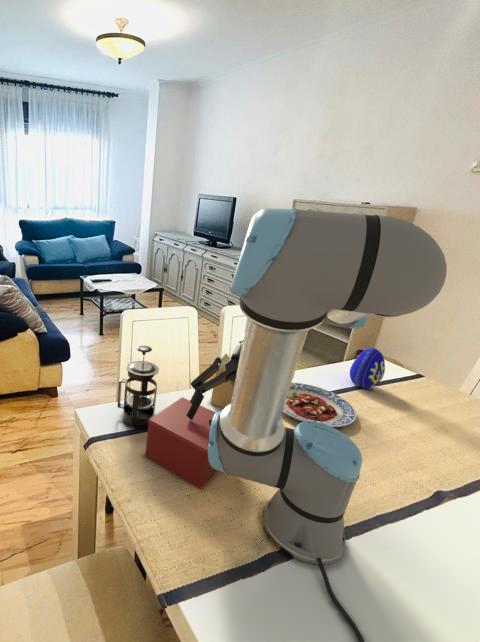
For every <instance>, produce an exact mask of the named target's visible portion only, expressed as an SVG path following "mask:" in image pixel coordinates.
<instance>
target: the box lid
mask: <svg viewBox="0 0 480 642" xmlns="http://www.w3.org/2000/svg"><path fill="white" fill-rule="evenodd" d="M190 400H191V399H188V398H186V397H180V398H179V399H177V400H176V401H174V402H173V403H171V404H170V405H168V406H166V407H165V408H164V409H162V410H160V411H159V412H157V413H155V414H154V416H153V417H152V418H150V419H149V423H150V424H152V425H154V426H156V427H157V428H159V429H161V430H163V431H165V432H167V433H169V434H170V435H172V436H174V437H176V438H178V439H180V440H182V441H184V442H185V443H187V444H189V445H191V446H193V447H195V448H197V449H199V450H200V451H202V452H204V453H206V454H208V445H209V434H210V428H211V423H212V419H213V416H214V414H215V413H216V412H217V411H214V410H211V409H209V408H207V407H205V406H203V405H202V404H200V406H199V408H198V410H197V412H196V414H195V416H194V418H193V420H191V419H189V418H188V417H187V416H186V415H187V413H188V411H189V409H190V407H191V406H192V404H191V403H190ZM223 410H224V408H222V409H221V410H220V411H219V412H222V411H223Z"/></svg>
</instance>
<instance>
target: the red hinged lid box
mask: <svg viewBox="0 0 480 642" xmlns="http://www.w3.org/2000/svg"><path fill="white" fill-rule="evenodd" d="M144 456H145V457H146V458H148V459H149V460H151V461H153V462H155V463H156V464H158V465H160V466H161V467H162V468H165V469H166V470H168V471H169V472H172V473H173V474H175V475H176V476H177V477H179V478H181V479H183V480H184V481H186V482H188V483H189V484H191V485H193V486H194V487H196V488H197V489H199V490H200V489H202V488H203V487H204V486H205V484H207V483H208V481H209V480H210V479H211V478H212V477H214V475H215V474H216V473H217V472H219V471H218V470H215V469H213V468H212V467H211V465H210V463H209V459H208V454H206V453H204V452H202V451H200V450H199V449H197V448H195V447H193V446H191V445H189V444H187V443H185V442H184V441H182V440H180V439H178V438H176V437H174V436H172V435H170V434H169V433H167V432H165V431H163V430H161V429H159V428H157V427H156V426H154V425H152V424H150V423H148V428H147V435H146V445H145V454H144Z"/></svg>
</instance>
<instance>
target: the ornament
mask: <svg viewBox="0 0 480 642" xmlns="http://www.w3.org/2000/svg"><path fill="white" fill-rule="evenodd" d="M385 371H386V364H385V357H384V355H383V354H382V351H380V350H378V349H377V348H375V347H368V348H366V349H364V350H363V351H361V353H360V354H359V355H357V357H356V359H354V361H353V362H352V365H351V366H350V369H349V378H350V380H351V382H352V383H353V385H355V386H357V387H359V388H361V389H366V390H367V389H368V390H369V389H371V388H374V387H375V386H377V385H378V384H379V383H380V382H381V381H382V379H383V378H384V376H385Z"/></svg>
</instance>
